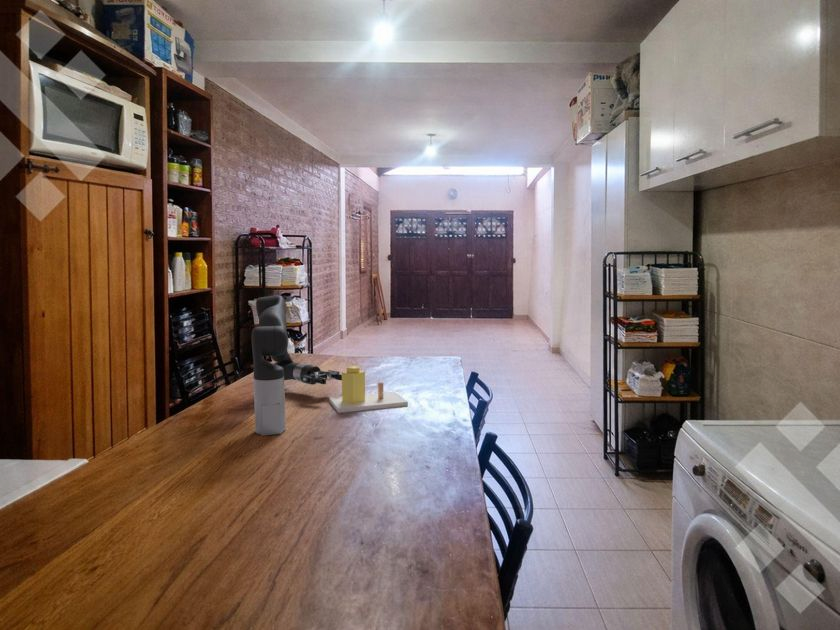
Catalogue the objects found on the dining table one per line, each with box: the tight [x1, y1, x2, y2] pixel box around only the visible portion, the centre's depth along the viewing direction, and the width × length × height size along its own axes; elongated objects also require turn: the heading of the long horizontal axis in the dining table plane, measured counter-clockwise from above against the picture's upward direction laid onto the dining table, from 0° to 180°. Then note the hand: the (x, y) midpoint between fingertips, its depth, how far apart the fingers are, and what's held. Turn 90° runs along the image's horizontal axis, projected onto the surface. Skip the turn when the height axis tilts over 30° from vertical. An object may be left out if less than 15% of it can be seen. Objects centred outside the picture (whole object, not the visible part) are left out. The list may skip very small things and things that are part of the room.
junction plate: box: [328, 381, 409, 414], centre depth 196 cm, size 16×26×8 cm, turn 111°
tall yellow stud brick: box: [341, 365, 366, 404], centre depth 194 cm, size 6×6×13 cm
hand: (334, 379), depth 201 cm, fingers open, 8 cm apart
